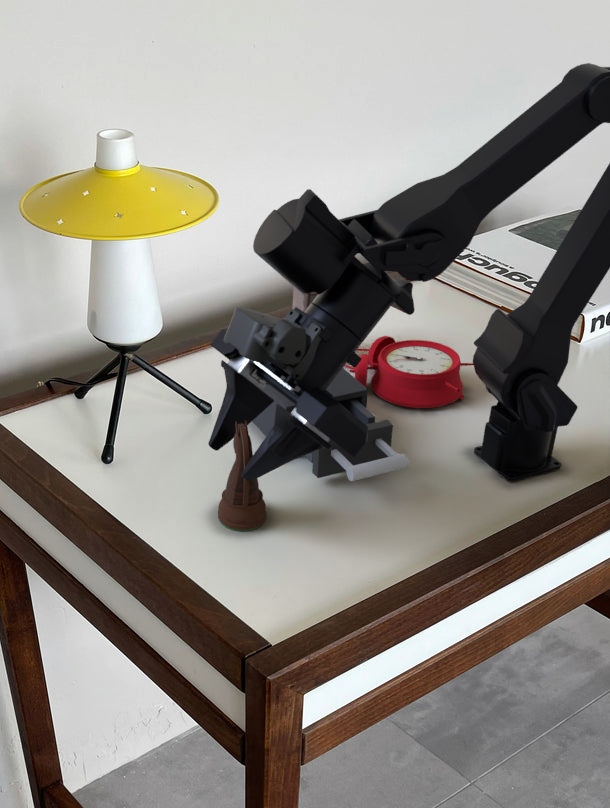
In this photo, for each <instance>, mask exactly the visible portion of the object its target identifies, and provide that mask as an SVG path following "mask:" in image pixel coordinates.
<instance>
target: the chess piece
mask: <svg viewBox="0 0 610 808" xmlns="http://www.w3.org/2000/svg"><path fill="white" fill-rule="evenodd" d="M235 425H236V433H235V435H234V438H233V443H232V444H233V451H234V454H235V460H234V462H233V464H232V467H231V469H230V472H229V475H228V477H227V481H226V485H225V489H224V490H223V491H222V493H221V499H220V501H219V503H218V510H217V519H218V521H219V523H220V524H221V525H222V526H224V527H225V528H227V529H229V530H231V531H232V530H233V531H237V532H246V531H252V530H255V529H257V528H259V527H261V526H262V525H263V524H265V522H266V520H267V517H268V516H267V505H266V502H265V500H264V493H263V491H262V490H261V489H260V485H259V479H258V478H257V479H255V480H253V481H250V482H249V481H247V480H246V479H244V478H243V477H242V473H243V471H244V469H245V467H246V466H247V464H248V462H249V461H250V459H251V458H252V456H253V455H254V452H253V445H252V444H253V443H252V440H251V437H250V434H249V428H248V425H247V421H245V425H244V424H238V427H237V421H235ZM238 432H239V433H238Z"/></svg>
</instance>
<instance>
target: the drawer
mask: <svg viewBox="0 0 610 808" xmlns="http://www.w3.org/2000/svg"><path fill="white" fill-rule="evenodd" d="M339 403H340V404H341V405H342V406H344V407H345V408H346V409H347V410H348V411H350V412H351V413H352V414H353V415H354V416H356V417H357V418H358V419H359V420H360V421H362V422H363V423H364V424H365V425H366V426H368V438H367V442H366V443H365V444H364V446H363V447H362V448H361V449H360V451H359V452H358V453H357V455H356V456H355V457H353V456H352V455H350V454H349V453H348V452H347V451H345V450H344V449H343V448H341V447H340V446H339V445H338V444H336V443H335V442H334V441H332V440H331V439H330V441H329V442H328V443H329V444H330V445H331V446H333V447H332V448H331V449H330V450H327V449H326V448H321V449H319V450H316V451H314V452H311V453H309V454H307V455H304V456H305V457H306V458H307V459H308V461H309V462H310V463H312V468H311V469H312V470H311V473H312V474H313V475H314V476H315V478H317V479H320V478H325V477H329V476H333V475H338V474H343V473H345V472H346V477H347V479H348V481H350V482H355V481H359V480H363V479H367V478H372V477H375V476H379V475H382V474H387V473H391V472H396V471H398V470H402V469H407V468H408V467H409V458H408V456H407V454H406V453H398V452H396V450H394V449H393V448H392V441H393V430H394V424H393V423H392V422H391V421H389V420H388V419H383V420H379V421H376V415H374V413H372V412H371V411H370V410H369V409H368V408H365V407H364V406H363V405H362V404H361V403H360V402H358V401H357V400H356V399H355V398H352V399H348V400H343V401H339Z"/></svg>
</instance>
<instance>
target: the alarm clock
mask: <svg viewBox="0 0 610 808" xmlns="http://www.w3.org/2000/svg"><path fill="white" fill-rule="evenodd" d="M355 352H367V353H362V354H360V355H358V356H359V357H360V358H361V359H362V360H361V361H360V362H359V364H358V365H357V366H356V367H355V368H354V367H353V366H351V365H349V364H348V365H347V364H345V366H344V367H343V368H347V369H349V373H353V374H354V378H355V379H356V380H357V381H359V382H360V383H361V384H362V385H363V386H364V387H366V388H367V383H368V371H369V370H373V371H375V373H373V375H372V377H371V380H370V382H371V383H370V385H371V389H372V391H373V392H374V393H375V395H377V396H378V397H379V398H380V399H382V400H384V401H386V402H388V403H390V404H394V405H397V406H401V407H406V408H415V409H431V408H439V407H443V406H446V405H449V404H451V403H455V402H456V401H457V400H458V399H461V400H460V402H462V401H463V400H464V399H465V394H463V393H464V392H463V391H464V384H463V381H462V379H461V376H460V371H461V367H465V366H466V367H467V366H474V364H473V362H462V361H461V358H460V355H459V354H458V352H457V351H455V349H453V348H451V347H450V346H447V345H445V344H443V343H439V342H436V341H431V340H423V339H422V340H421V339H407V340H400V341H396V340H395V338H394V337H391V336H388V335H383V336H380V337H377V338H376V339H375V340H374V341H373V342H372V343H371V345H370V347H369V349H368V348H358V349H357V350H356V351H355Z"/></svg>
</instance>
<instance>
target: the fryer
mask: <svg viewBox="0 0 610 808" xmlns="http://www.w3.org/2000/svg"><path fill="white" fill-rule="evenodd" d="M280 379H282V380H283V381H284V380H285V377H284V376H281V377H280ZM277 382H278V381H277ZM278 383H279V382H278ZM282 386H283V385H282ZM286 389H287V388H286ZM300 389H301V388H299V387H298V386H296V387H295V390H296V391H297V392H299V390H300ZM326 390H327V391H328V392H329V393H330V394H332V395H333V397H332V398H333V399H334V400H336V401H337V402H339V401H343V400H348V399H352V398H355V399H356V400H357V401H358V402H360V403H361V404H362V405H363V406H364V407H365V408H366V409H368V407H367V406H368V394H369V389H368V388H367V386H366V387H364V386H363V385H362V384H361V383H360V382H359V381H357V380H356V379H355V376H353V375H352V374H351V373H350V372H349V371H347V369H345V368H344V367H343V368H342V369H341V371H340V372H339V373H338V375H337V376H336V377H335V378H334V380H333V381H332V382H331V384H330V385H329V386H328V387H327V389H326ZM263 392H264V393H266V394H267V395H268V396H269V397H271V398H272V399H273V400H274V402H273V403H272V404H271V405H269V406H268V407H267V408H266V409H265V410H264V411H263V412H262V413H261V414H259V415H258V416H257V417H256V418H255V419H254V420H253V421H252V422H251V423H253V424H254V425H255V426H256V427H257V428H258V430H260V432H261V433H262V434H263V435H264V436H265V437H266V436H267V435H268V434H269V432H270V431H271V429H272V428H273V426H274V424H275V413H276V405H277V404H279V405H280V406H281V407H283V408H284V409H285V410H286V411H288V412H289V413H291V412H292V411H293V409H294V408H295V407H296V405H295V404H294V403H292V402H291V401H290V400H288V399H287V398H286V397H284V396H283V395H282V394H281V393H279V392H278V391H277V390H275V389H274V388H273V387H272V386H270V385H267V386H266V387H265V389H264V390H263ZM290 392H291V391H290ZM295 396H296V395H295Z"/></svg>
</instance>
